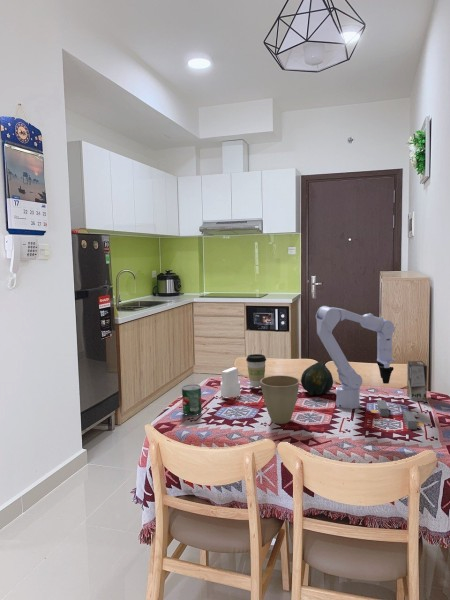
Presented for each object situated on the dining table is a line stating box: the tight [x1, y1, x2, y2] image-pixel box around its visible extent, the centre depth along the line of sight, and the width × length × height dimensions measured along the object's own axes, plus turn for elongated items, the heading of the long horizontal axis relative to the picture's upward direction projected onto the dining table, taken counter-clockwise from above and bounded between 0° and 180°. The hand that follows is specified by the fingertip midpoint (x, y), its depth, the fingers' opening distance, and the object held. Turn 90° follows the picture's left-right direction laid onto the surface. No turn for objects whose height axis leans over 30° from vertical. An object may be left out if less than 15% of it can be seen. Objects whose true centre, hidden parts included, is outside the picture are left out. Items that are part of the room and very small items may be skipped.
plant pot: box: [260, 374, 300, 425], centre depth 177 cm, size 15×15×16 cm
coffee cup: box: [245, 353, 267, 387], centre depth 224 cm, size 10×10×15 cm
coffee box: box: [406, 360, 428, 402], centre depth 195 cm, size 9×6×16 cm
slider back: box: [376, 399, 389, 417], centre depth 180 cm, size 3×10×3 cm, turn 167°
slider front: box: [402, 410, 418, 430], centre depth 167 cm, size 3×10×3 cm, turn 167°
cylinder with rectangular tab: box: [220, 366, 241, 398], centre depth 211 cm, size 9×9×12 cm
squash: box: [300, 361, 334, 396], centre depth 211 cm, size 14×15×15 cm
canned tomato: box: [181, 384, 203, 416], centre depth 190 cm, size 8×8×11 cm
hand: (384, 380), depth 190 cm, fingers open, 7 cm apart
